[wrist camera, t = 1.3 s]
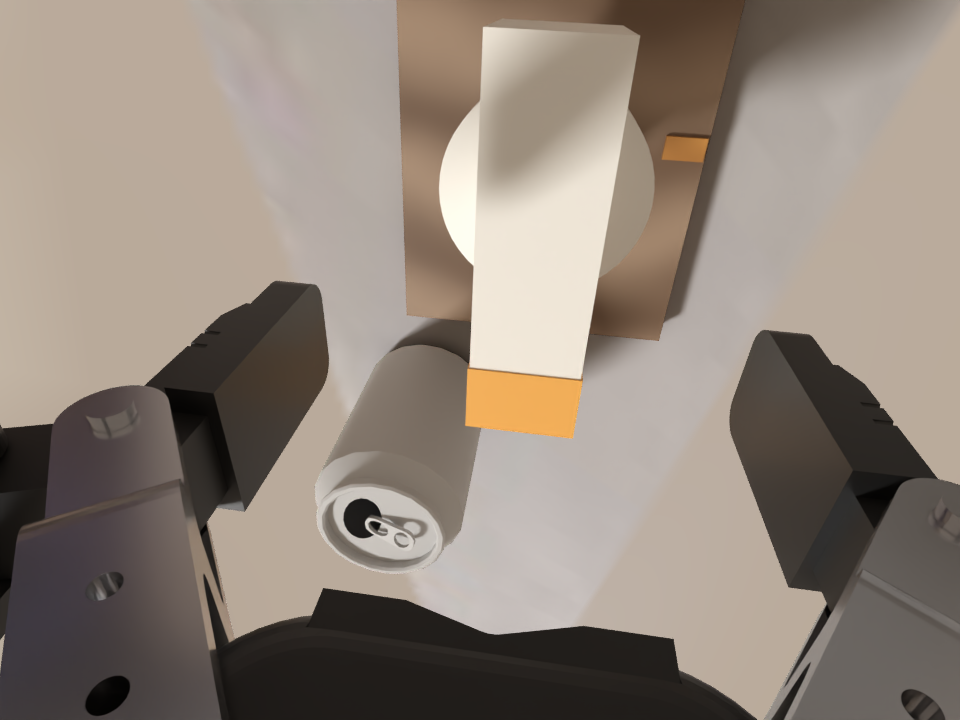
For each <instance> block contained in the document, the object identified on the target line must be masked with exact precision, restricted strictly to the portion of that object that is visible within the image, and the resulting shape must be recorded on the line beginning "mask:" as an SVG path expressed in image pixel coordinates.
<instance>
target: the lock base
mask: <svg viewBox="0 0 960 720" xmlns="http://www.w3.org/2000/svg"><path fill="white" fill-rule="evenodd" d="M744 3H745V0H397V26H398V57H399V88H400V119H401V150H402V181H403V212H404V243H405V274H406V305H407V315H409V316H419V317H429V318H439V319H449V320H459V321H469V322H471V319H472V294H473V268H474V266H473V265H472V264H471V263H470V262H469V261H468V260H467V259H466V258H465V257H464V255H463V254H462V253H461V252H460V251H459V249H458V248H457V246H456V245H455V243H454V241H453V240H452V238H451V236H450V234H449V232H448V229H447V227H446V224H445V221H444V218H443V215H442V210H441V205H440V196H439V180H440V171H441V166H442V161H443V158H444V155H445V152H446V149H447V146H448V144H449V142H450V140H451V138H452V136H453V134H454V132H455V131H456V129H457V128H458V127H459V125H460V124H461V122H462V121H463V119H464V118H465V117H466V116H467V115H468V113H469V112H470V111H471V110H472V108H473V107H474V106H475V105H476V104H477V103H478V102H479V100H480V91H481V66H482V41H483V27H484V26H486V25H489V24H491V23H493V22H496V21H498V20H501V19H517V20H535V21H553V22H571V23H589V24H607V25H623V26H625V27H626V28H628V29H630V30H631V31H633V32H635V33H636V34H638V35H640V40H639V46H638V52H637V57H636V63H635V69H634V75H633V81H632V86H631V92H630V98H629V104H628V109H629V110H630V112H631V114H632V115H633V117H634V119H635V120H636V122H637V124H638V126H639V128H640V130H641V132H642V134H643V136H644V138H645V140H646V143H647V145H648V147H649V150H650V154H651V158H652V161H653V169H654V176H655V179H654V197H653V204H652V208H651V212H650V215H649V219H648V221H647V224H646V226H645V228H644V231H643V233H642V234H641V236H640V238H639V239H638V241H637V243H636V244H635V246H634V247H633V248H632V250H631V251H630V252H629V253H628V255H627V256H626V257H625V258H624V259H623V260H622V261H621V262H620V263H619V264H618V265H617V266H615V267H614V268H613V269H612V270H610V271H609V272H608V273H606V274H605V275H603V276H601V277H600V278H598V283H597V289H596V295H595V300H594V306H593V312H592V318H591V324H590V329H589V334H597V335H607V336H616V337H626V338H636V339H646V340H656V341H659V338H660V334H661V330H662V326H663V322H664V318H665V314H666V310H667V306H668V302H669V298H670V295H671V291H672V287H673V283H674V279H675V275H676V271H677V267H678V263H679V259H680V255H681V251H682V247H683V243H684V239H685V235H686V232H687V228H688V224H689V220H690V216H691V212H692V208H693V204H694V200H695V196H696V192H697V188H698V184H699V180H700V176H701V172H702V169H703V165H704V161H705V157H706V153H707V149H708V145H709V141H710V137H711V133H712V129H713V125H714V121H715V117H716V113H717V110H718V106H719V102H720V98H721V94H722V90H723V86H724V82H725V78H726V74H727V70H728V66H729V62H730V58H731V54H732V50H733V47H734V43H735V39H736V35H737V31H738V27H739V23H740V19H741V15H742V11H743V7H744Z"/></svg>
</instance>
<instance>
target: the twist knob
mask: <svg viewBox="0 0 960 720" xmlns="http://www.w3.org/2000/svg"><path fill="white" fill-rule="evenodd" d="M639 40H640V35H638V34H636V33H635V32H633V31H631V30H630V29H628V28H626V27H625V26H623V25H607V24H589V23H571V22H553V21H535V20H517V19H501V20H498V21H496V22H493V23H491V24H489V25H486V26H484V27H483V41H482V66H481V91H480V100H479V102H478V103H477V104H476V105H475V106H474V107H473V108H472V110H471V111H470V112H469V113H468V115H467V116H466V117H465V118H464V119H463V121H462V122H461V124H460V125H459V127H458V128H457V129H456V131H455V132H454V134H453V136H452V138H451V140H450V142H449V144H448V146H447V149H446V152H445V155H444V158H443V161H442V166H441V171H440V180H439V196H440V205H441V210H442V215H443V218H444V221H445V224H446V227H447V229H448V232H449V234H450V236H451V238H452V240H453V241H454V243H455V245H456V246H457V248H458V249H459V251H460V252H461V253H462V254H463V255H464V257H465V258H466V259H467V260H468V261H469V262H470V263H471V264H472V265H473V266H474V268H473V294H472V319H471V344H470V361H469V365H468V369H467V395H466V422H465V426H471V427H479V428H488V429H496V430H505V431H513V432H522V433H531V434H539V435H548V436H556V437H565V438H573V434H574V428H575V422H576V416H577V411H578V405H579V399H580V394H581V388H582V382H583V378H582V370H583V364H584V358H585V352H586V347H587V341H588V335H589V329H590V324H591V318H592V312H593V306H594V300H595V295H596V289H597V283H598V278H600V277H601V276H603V275H605V274H606V273H608V272H609V271H610V270H612V269H613V268H614V267H615V266H617V265H618V264H619V263H620V262H621V261H622V260H623V259H624V258H625V257H626V256H627V255H628V253H629V252H630V251H631V250H632V248H633V247H634V246H635V244H636V243H637V241H638V239H639V238H640V236H641V234H642V233H643V231H644V228H645V226H646V224H647V221H648V219H649V215H650V212H651V208H652V204H653V197H654V179H655V176H654V169H653V161H652V158H651V154H650V150H649V147H648V145H647V143H646V140H645V138H644V136H643V134H642V132H641V130H640V128H639V126H638V124H637V122H636V120H635V119H634V117H633V115H632V114H631V112H630V110H629V109H628V104H629V98H630V92H631V86H632V81H633V75H634V69H635V63H636V57H637V52H638V46H639Z"/></svg>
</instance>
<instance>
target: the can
mask: <svg viewBox="0 0 960 720" xmlns="http://www.w3.org/2000/svg"><path fill="white" fill-rule="evenodd" d="M468 365H469V364H468V363H467V362H465V361H464V360H463V359H462V358H461V357H459V356H458V355H456V354H453V353H451V352H449V351H447V350H445V349H442V348H439V347H433V346H427V345H414V346H404V347H401V348H399V349H397V350H394V351H392V352H390V353H387V354H386V355H385V356H384V357H383V358H382V359H381V360H380V361H379V362H378V363H377V364H376V366H375V368H374V370H373V372H372V373H371V375H370V377H369V379H368V381H367V383H366V385H365V387H364V389H363V391H362V393H361V395H360V397H359V399H358V401H357V403H356V405H355V407H354V409H353V410H352V412H351V414H350V416H349V418H348V420H347V422H346V424H345V426H344V428H343V430H342V432H341V434H340V436H339V438H338V440H337V442H336V444H335V446H334V448H333V450H332V452H331V453H330V455H329V457H328V459H327V461H326V463H325V465H324V467H323V469H322V471H321V473H320V475H319V478H318V480H317V483H316V485H315V497H316V504H317V506H318V510H317V512H316V515H317V526H318V529H319V531H320V533H321V535H322V537H323V539H324V540H325V542H326V543H327V544H328V545H330V547H331V548H332V549H333V550H334V551H335V552H336V553H337V554H338V555H340V556H342V557H343V558H345V559H346V560H348V561H349V562H351V563H353V564H355V565H358V566H360V567H363V568H365V569H368V570H371V571H377V572H382V573H388V574H390V573H391V574H394V573H409V572H413V571H417V570H420V569H424V568H425V567H427V566H429V565H430V564H432V563H433V562H435V561H436V560H437V559H438V557H439V556H440V554H441V553H442V551H443V550H444V547H446V546H447V545H449V544H451V543H452V542H453V540H454V539H455V537H456V536H457V534H458V533H459V532H460V530H461V526H462V521H463V516H464V511H465V506H466V501H467V496H468V491H469V486H470V481H471V476H472V471H473V466H474V461H475V456H476V451H477V446H478V441H479V436H480V431H481V428H479V427H471V426H465V422H466V395H467V369H468Z"/></svg>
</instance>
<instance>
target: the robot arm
mask: <svg viewBox="0 0 960 720" xmlns="http://www.w3.org/2000/svg"><path fill="white" fill-rule="evenodd" d="M328 366H329V354H328V346H327V337H326V329H325V321H324V313H323V304H322V297H321V293H320V290H319V288H318V287H317V286H316V285H314V284H304V283H294V282H284V281H275V282H273V283H271V284H270V286H268V287H267V288H266V289H265V290H264V291H263V292H262V293H261V294H260V295H259V296H258V297H257V298H256V299H255V300H254V301H253V302H252V303H251V304H247V303H246V304H244V305H242V306H240V307H238V308H235V309H233V310H231V311H229V312H227V313H225V314H223V315H221V316H220V317H219V318H218V319H217V320H216V321H214V323H212V324H211V325H210V326H209V327H208V328H207V329H206V330H205V333H204V334H203V333H201V334H200V335H199V336H198V337H197V338H196V339H195V340H194V341H193V342H192V343H191V346H187V347H186V348H185V349H184V350H183V351H182V352H181V353H179V354H178V355H177V356H176V357H175V358H174V359H173V360H172V361H171V362H170V363H169V364H167V365H166V366H165V367H164V368H163V369H162V370H161V371H160V372H159V373H158V374H157V375H156V376H154V377H153V378H152V379H151V380H150V381H149V382H148V383H147V384H146V385H145V386H140V385H130V386H121V387H115V388H110V389H106V390H102V391H99V392H97V393H94V394H91V395H89V396H87V397H84V398H82V399H80V400H79V401H77V402H75V403H74V404H72V405H70V406H69V407H68V408H66V409H65V410H64V411H63V412H62V413H61V414H60V415H59V416H58V417H57V418H56V420H55V422H54V424H47V425H35V426H25V427H14V428H3V429H2V427H1V425H0V639H1V638H2V637H3V635H4V634H5V637H4V645H3V653H2V661H1V670H0V720H757V719H756V718H755V717H753V716H752V715H751V714H750V713H748V712H747V711H746V710H745V709H743V708H742V707H741V706H740V705H738V704H737V703H736V702H734V701H733V700H732V699H730V698H728V697H727V696H725V695H724V694H723V693H721V692H719V691H718V690H716V689H715V688H713V687H712V686H710V685H708V684H706V683H704V682H702V681H700V680H699V679H696V678H695V677H693V676H691V675H689V674H686V673H684V672H681V671H679V669H678V663H677V657H676V651H675V645H674V639H670V638H663V637H656V636H648V635H642V634H635V633H628V632H622V631H615V630H607V629H601V628H594V627H587V626H579V627H570V628H560V629H550V630H540V631H531V632H521V633H511V634H501V635H494V634H487V633H484V632H481V631H479V630H477V629H474V628H472V627H469V626H467V625H465V624H462V623H460V622H457V621H455V620H453V619H450V618H448V617H445V616H443V615H440V614H438V613H436V612H433V611H431V610H428V609H426V608H424V607H421V606H419V605H416V604H414V603H412V602H409V601H407V600H401V599H394V598H388V597H381V596H374V595H367V594H360V593H353V592H346V591H339V590H333V589H325V588H323V590H322V593H321V595H320V597H319V600H318V602H317V605H316V607H315V610H314V612H313V614H312V616H303V617H298V618H294V619H289V620H284V621H280V622H277V623H274V624H271V625H268V626H265V627H262V628H259V629H256V630H254V631H252V632H250V633H247V634H245V635H243V636H241V637H238V638H236V639H235V637H234V633H233V630H232V625H231V621H230V617H229V612H228V608H227V603H226V599H225V594H224V590H223V585H222V581H221V576H220V572H219V567H218V563H217V558H216V554H215V549H214V545H213V540H212V535H211V531H210V529H209V526H208V522H207V521H208V519H209V518H210V517H211V515H212V514H213V512H214V511H215V509H216V508H222V509H229V510H237V511H244V512H245V510H246V509H247V507H248V506H249V504H250V502H251V501H252V499H253V498H254V496H255V495H256V493H257V491H258V490H259V488H260V486H261V485H262V483H263V482H264V480H265V479H266V477H267V475H268V474H269V472H270V471H271V469H272V467H273V466H274V464H275V462H276V461H277V459H278V458H279V456H280V455H281V453H282V452H283V450H284V448H285V447H286V445H287V444H288V442H289V440H290V439H291V437H292V436H293V434H294V432H295V430H296V429H297V428H298V426H299V424H300V423H301V421H302V420H303V418H304V416H305V415H306V413H307V412H308V410H309V408H310V407H311V405H312V403H313V402H314V400H315V399H316V397H317V396H318V394H319V393H320V391H321V389H322V388H323V386H324V383H325V381H326V378H327V373H328ZM730 431H731V435H732V438H733V441H734V444H735V446H736V449H737V452H738V454H739V457H740V460H741V462H742V465H743V468H744V470H745V473H746V475H747V478H748V481H749V483H750V486H751V489H752V491H753V494H754V497H755V499H756V502H757V505H758V507H759V510H760V513H761V515H762V518H763V521H764V523H765V526H766V529H767V531H768V534H769V536H770V539H771V542H772V544H773V547H774V550H775V552H776V555H777V558H778V560H779V563H780V565H781V568H782V571H783V573H784V576H785V579H786V582H787V584H788V587H790V588H798V589H805V590H812V591H820V592H822V593H823V595H824V598H825V600H826V602H827V603H826V605H825V607H824V608H823V610H822V611H821V613H820V615H819V616H818V618H817V620H816V622H815V624H814V626H813V628H812V629H811V631H810V633H809V635H808V637H807V639H806V641H805V643H804V645H803V647H802V649H801V651H800V653H799V654H798V656H797V658H796V660H795V662H794V664H793V666H792V668H791V670H790V672H789V673H788V675H787V677H786V679H785V681H784V683H783V685H782V687H781V689H780V691H779V693H778V695H777V697H776V698H775V700H774V702H773V704H772V706H771V708H770V710H769V711H768V713H767V715H766V717H765V718H764V720H960V485H958V484H955V483H952V482H948V481H944V480H940V479H938V478H937V477H936V476H935V474H934V473H933V472H932V471H931V469H930V468H929V467H928V465H927V464H926V463H925V462H924V460H923V459H922V458H921V456H920V455H919V454H918V453H917V451H916V450H915V449H914V447H913V446H912V445H911V444H910V442H909V441H908V440H907V438H906V437H905V436H904V434H903V433H902V432H901V430H900V429H899V428H898V427H897V426H893V420H892V419H891V417H890V416H889V415H888V414H887V413H886V411H885V410H884V409H883V408H880V404H879V402H878V401H877V399H876V398H875V397H874V396H873V394H872V393H871V392H870V390H869V389H868V388H867V386H866V385H865V384H864V383H862V382H861V381H860V380H858V379H857V378H855V377H854V376H853V375H851V374H850V373H848V372H847V371H845V370H844V369H843V368H842V367H840V366H839V365H833V364H832V363H831V362H830V360H829V359H828V357H827V356H826V355H825V354H824V352H823V351H822V349H821V348H820V347H819V345H818V344H817V342H816V341H815V340H814V338H813V337H812V336H810V335H808V334H800V333H799V334H798V333H790V332H779V331H769V330H763V331H761V332H760V333H759V334H758V335H757V336H756V338H755V340H754V342H753V345H752V348H751V350H750V353H749V356H748V359H747V361H746V364H745V367H744V370H743V373H742V375H741V378H740V381H739V384H738V387H737V389H736V392H735V395H734V398H733V401H732V404H731V409H730Z"/></svg>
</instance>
